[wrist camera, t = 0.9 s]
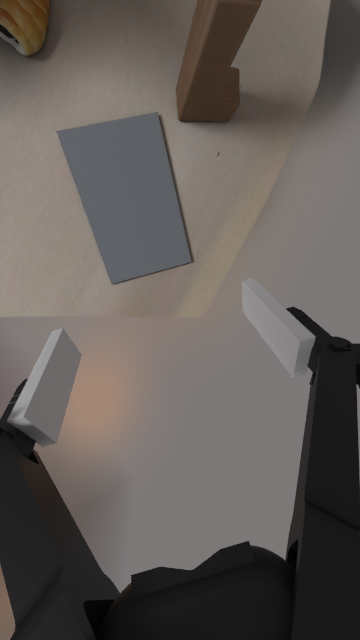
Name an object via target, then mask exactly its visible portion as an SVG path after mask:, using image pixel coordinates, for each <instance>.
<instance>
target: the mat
mask: <svg viewBox="0 0 360 640" xmlns="http://www.w3.org/2000/svg"><path fill="white" fill-rule="evenodd" d="M57 134H58V137H59V139H60V142H61V145H62V148H63V151H64V153H65V156H66V159H67V162H68V164H69V167H70V170H71V173H72V176H73V178H74V181H75V184H76V187H77V189H78V192H79V195H80V198H81V201H82V203H83V206H84V209H85V212H86V214H87V217H88V220H89V223H90V226H91V228H92V231H93V234H94V237H95V239H96V242H97V245H98V248H99V251H100V253H101V256H102V259H103V262H104V264H105V267H106V270H107V273H108V276H109V278H110V281H111V284H114V283H118V282H121V281H125V280H128V279H132V278H135V277H139V276H143V275H146V274H150V273H153V272H157V271H160V270H164V269H168V268H171V267H175V266H178V265H182V264H186V263H189V262H192V261H191V257H190V253H189V248H188V244H187V239H186V235H185V231H184V226H183V222H182V217H181V213H180V209H179V204H178V200H177V195H176V191H175V187H174V182H173V178H172V174H171V169H170V165H169V160H168V156H167V152H166V147H165V143H164V138H163V134H162V130H161V125H160V121H159V117H158V112H156V113H151V114H146V115H141V116H135V117H130V118H125V119H119V120H114V121H109V122H104V123H98V124H93V125H88V126H83V127H77V128H72V129H67V130H61V131H57Z"/></svg>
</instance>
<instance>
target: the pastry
mask: <svg viewBox="0 0 360 640" xmlns="http://www.w3.org/2000/svg"><path fill="white" fill-rule="evenodd" d="M49 12H50V0H0V37H1V38H2V39H3V40H5V41H7V42H8V43H10V44H12V45H13V46H14V47H15V49H16V50H17V51H18V52H20V53H21V54H22V55H25V56H29V55H32V54H34V53H36V52H38V51H39V50H40V49H41V48H42V45H43V43H44V41H45V38H46V34H47V28H48V20H49Z"/></svg>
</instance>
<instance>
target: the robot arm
mask: <svg viewBox="0 0 360 640" xmlns="http://www.w3.org/2000/svg"><path fill="white" fill-rule="evenodd" d="M242 294H243V312H244V313H245V315H246V316H247V318H248V319H249V320H250V321H251V323H252V324H253V325H254V327H255V328H256V330H257V331H258V332H259V333H260V335H261V336H262V337H263V339H264V340H265V341H266V343H267V344H268V345H269V347H270V348H271V349H272V351H273V352H274V353H275V355H276V356H277V357H278V359H279V360H280V361H281V363H282V364H283V365H284V367H285V368H286V369H287V371H288V372H289V373H290V375H291V376H292V377H297V376H300V375H303V374H306V372H307V368H308V367H309V368H310V369H311V371H312V372H313V374H312V377H311V381H310V385H311V387H310V394H309V401H308V409H307V416H306V423H305V431H304V438H303V445H302V453H301V460H300V468H299V475H298V483H297V489H296V497H295V505H294V511H293V517H292V522H291V526H290V532H289V538H288V545H287V552H286V559H285V560H284V559H283V558H281V557H280V556H278V555H277V554H275V553H273V552H271V551H269V550H267V549H265V548H261V547H258V546H250V543H249V541H247V542H243V543H240V544H237V545H233V546H230V547H227V548H223V549H220V550H219V551H217V552H216V553H215V554H213V555H212V556H211V557H210V558H208V559H207V560H206V561H204V562H203V563H202V564H200V565H199V566H198V567H197V568H195V569H193V570H183V569H175V568H167V567H158V568H155V569H151V570H148V571H144V572H141V573H137V574H134V575H131V583H130V584H129V585H128V586H127V587H126V588H125V589H124V590H123V591H122V592H121V593H119V591H118V590H117V588H116V586H115V585H114V583H113V582H112V581H111V580H110V579H109V578H108V577H107V576H106V575H105V574H104V573H103V571H102V570H101V569H100V567H99V565H98V563H97V561H96V560H95V558H94V556H93V554H92V552H91V551H90V549H89V547H88V545H87V543H86V541H85V539H84V538H83V536H82V534H81V532H80V530H79V529H78V527H77V525H76V523H75V521H74V519H73V517H72V516H71V514H70V512H69V510H68V508H67V506H66V505H65V503H64V501H63V499H62V497H61V495H60V494H59V492H58V490H57V488H56V486H55V484H54V483H53V481H52V479H51V477H50V476H49V473H48V472H47V470H46V468H45V466H44V464H43V462H42V461H41V459H40V457H39V455H38V453H37V452H36V451H35V450H34V449H33V448H34V445H35V442H37V443H38V444H39V445H41V446H42V447H43V446H47V445H50V444H54V443H57V439H58V436H59V433H60V429H61V425H62V422H63V418H64V415H65V411H66V408H67V404H68V401H69V397H70V394H71V390H72V387H73V383H74V380H75V376H76V373H77V369H78V366H79V362H80V359H81V353H80V352H79V350H78V349H77V347H76V346H75V344H74V343H73V341H72V340H71V339H70V337H69V336H68V334H67V333H66V332H65V330H64V329H63V328H61V329H57V330H53V331H52V333H51V335H50V337H49V339H48V341H47V343H46V345H45V347H44V348H43V351H42V352H41V355H40V356H39V359H38V361H37V362H36V364H35V367H34V368H33V371H32V372H31V374H30V377H29V378H28V379H25V380H24V381H23V382H22V383H21V384H20V385H19V386H18V388H17V389H16V391H15V393H14V395H13V398H12V399H11V401H10V404H9V405H8V406H7V408H6V410H5V412H4V414H3V416H2V417H1V419H0V564H1V568H2V572H3V576H4V579H5V584H6V588H7V591H8V595H9V599H10V603H11V606H12V610H13V615H14V618H15V624H16V626H15V632H14V634H13V636H12V638H11V639H10V640H360V481H359V451H358V422H357V420H358V419H357V389H356V384H358V386H359V388H360V344H352V343H351V342H349V341H348V340H346V339H343V338H340V337H332V336H331V335H330V334H328V333H327V332H326V331H325V330H324V329H323V328H321V327H320V326H319V325H318V324H317V323H316V322H314V321H313V320H312V319H311V318H310V317H308V316H307V315H306V314H305V313H304V312H303V311H302V310H299V309H297V308H295V307H291V308H287V309H285V308H284V307H283V306H282V305H281V304H280V303H279V302H278V301H277V300H276V299H275V298H274V297H272V296H271V295H270V294H269V293H268V292H267V291H266V290H265V289H264V288H263V287H262V286H261V285H260V284H259V283H257V282H256V281H255V280H254V279H253V278H250V279H246V280H243V281H242Z"/></svg>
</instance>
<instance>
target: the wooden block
mask: <svg viewBox="0 0 360 640" xmlns="http://www.w3.org/2000/svg"><path fill="white" fill-rule="evenodd" d="M261 1H262V0H197V5H196V9H195V13H194V17H193V21H192V25H191V29H190V34H189V38H188V42H187V46H186V50H185V54H184V58H183V62H182V67H181V71H180V75H179V79H178V83H177V88H176V95H177V108H178V119H179V120H180V121H229V119H230V118H231V116H232V115H233V113H234V112H235V110H236V109H237V107H238V106H239V69H238V68H234V67H230V66H231V64H232V62H233V60H234V58H235V56H236V54H237V52H238V50H239V48H240V46H241V44H242V42H243V40H244V38H245V35H246V33H247V31H248V29H249V27H250V25H251V23H252V21H253V19H254V17H255V15H256V13H257V11H258V9H259V7H260V5H261Z"/></svg>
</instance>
